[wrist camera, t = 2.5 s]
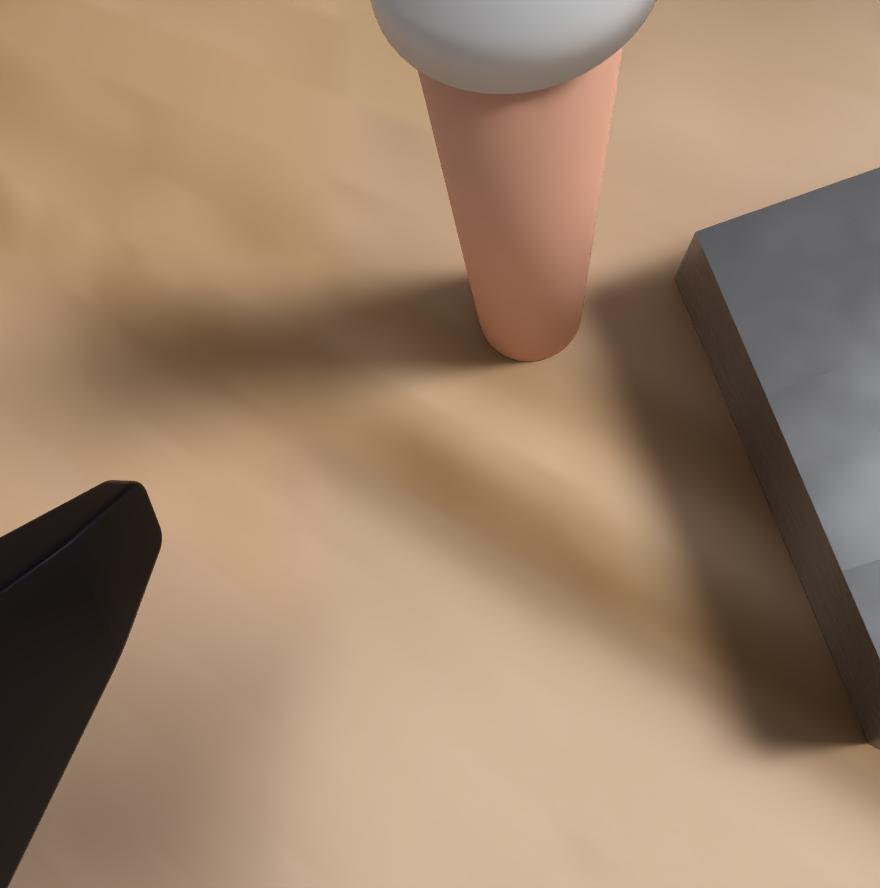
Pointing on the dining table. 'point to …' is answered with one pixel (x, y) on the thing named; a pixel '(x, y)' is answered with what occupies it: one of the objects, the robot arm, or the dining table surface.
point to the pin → (520, 145)
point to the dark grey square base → (808, 394)
